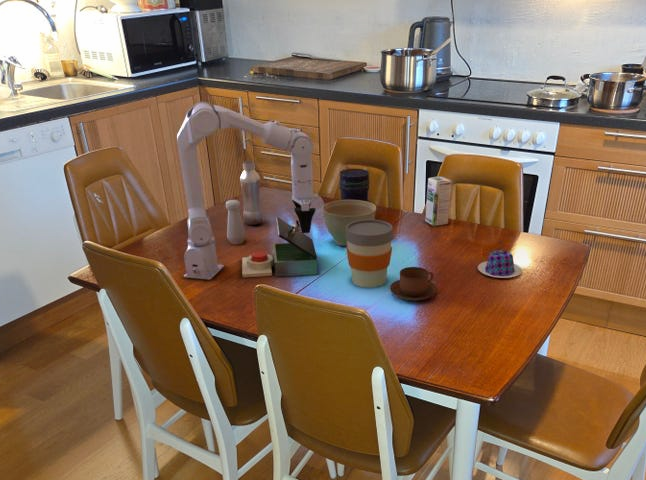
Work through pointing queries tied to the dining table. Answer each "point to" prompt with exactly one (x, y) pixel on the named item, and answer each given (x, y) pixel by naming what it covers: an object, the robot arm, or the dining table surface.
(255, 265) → the button base
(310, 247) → the lid
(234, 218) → the salt shaker
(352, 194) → the storage jar
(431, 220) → the syrup box
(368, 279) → the reusable coffee cup
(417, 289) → the cup and saucer
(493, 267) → the pudding
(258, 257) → the button
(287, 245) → the dark green box
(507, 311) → the dining table surface
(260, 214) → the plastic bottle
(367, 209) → the planter bowl
